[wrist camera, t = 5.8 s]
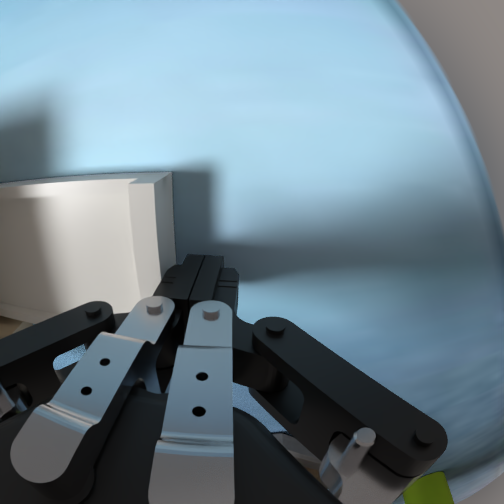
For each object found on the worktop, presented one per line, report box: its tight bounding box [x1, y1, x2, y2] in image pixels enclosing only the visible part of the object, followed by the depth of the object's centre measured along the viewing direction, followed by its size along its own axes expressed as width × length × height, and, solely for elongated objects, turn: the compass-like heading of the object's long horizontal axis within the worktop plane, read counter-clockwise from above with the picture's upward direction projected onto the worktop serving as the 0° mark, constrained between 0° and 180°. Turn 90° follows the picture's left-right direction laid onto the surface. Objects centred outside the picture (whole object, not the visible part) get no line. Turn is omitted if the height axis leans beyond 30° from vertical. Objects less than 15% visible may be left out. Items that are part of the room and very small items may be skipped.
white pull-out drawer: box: [0, 172, 176, 324], centre depth 13 cm, size 15×8×2 cm, turn 88°
